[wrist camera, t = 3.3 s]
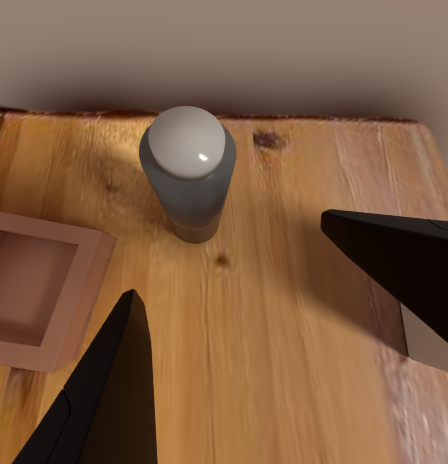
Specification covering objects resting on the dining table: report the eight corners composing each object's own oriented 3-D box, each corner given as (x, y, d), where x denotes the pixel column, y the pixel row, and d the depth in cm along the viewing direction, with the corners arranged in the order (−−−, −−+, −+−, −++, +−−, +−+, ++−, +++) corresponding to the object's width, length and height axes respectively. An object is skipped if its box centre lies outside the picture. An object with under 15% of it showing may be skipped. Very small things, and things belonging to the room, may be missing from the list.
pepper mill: (222, 204, 23) (246, 107, 10) (214, 247, 22) (230, 195, 9) (178, 195, 23) (149, 85, 10) (167, 238, 21) (118, 171, 9)
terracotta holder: (116, 238, 21) (102, 231, 18) (76, 359, 18) (52, 373, 15) (4, 217, 20) (-29, 206, 17) (-56, 338, 17) (-108, 348, 14)
